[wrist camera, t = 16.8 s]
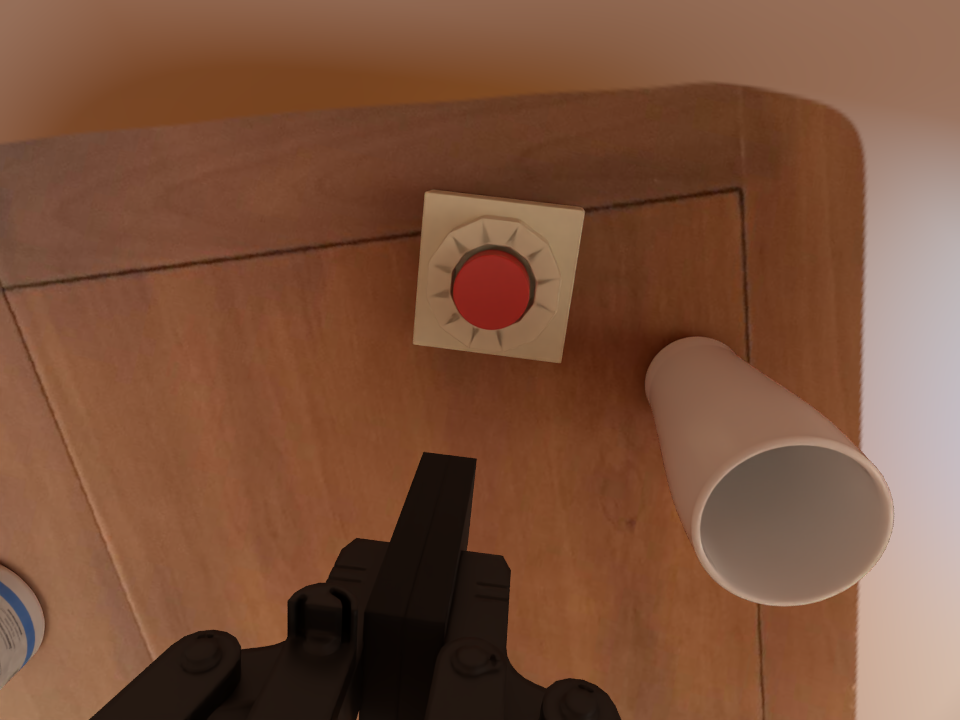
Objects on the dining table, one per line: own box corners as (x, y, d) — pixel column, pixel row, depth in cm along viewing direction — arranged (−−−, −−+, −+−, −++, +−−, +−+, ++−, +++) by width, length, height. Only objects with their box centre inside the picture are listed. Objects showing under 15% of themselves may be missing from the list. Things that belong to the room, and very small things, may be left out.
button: (534, 254, 31) (534, 259, 29) (524, 325, 32) (524, 335, 30) (460, 244, 31) (456, 250, 30) (453, 316, 32) (449, 325, 31)
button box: (582, 206, 34) (587, 213, 30) (559, 351, 36) (562, 375, 32) (431, 189, 34) (418, 193, 30) (419, 333, 36) (405, 354, 33)
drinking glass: (624, 430, 37) (678, 602, 23) (636, 317, 35) (703, 429, 21) (744, 437, 37) (874, 618, 23) (763, 323, 35) (921, 442, 20)
